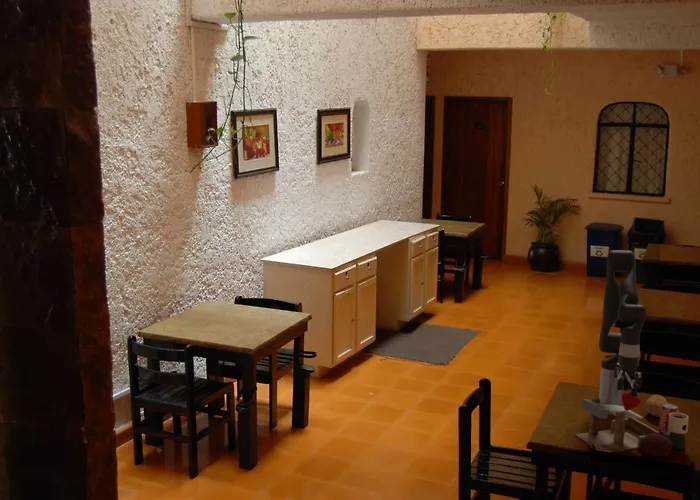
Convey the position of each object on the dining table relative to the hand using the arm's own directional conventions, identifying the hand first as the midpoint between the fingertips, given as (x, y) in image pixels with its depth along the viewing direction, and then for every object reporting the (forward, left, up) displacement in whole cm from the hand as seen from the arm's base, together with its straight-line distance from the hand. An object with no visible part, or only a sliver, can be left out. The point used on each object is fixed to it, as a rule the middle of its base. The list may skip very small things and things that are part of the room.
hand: (626, 393), depth 301 cm
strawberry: (0, 0, -7) cm, 7 cm away
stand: (+4, 0, -20) cm, 20 cm away
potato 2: (-2, +16, -20) cm, 26 cm away
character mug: (-15, +12, -20) cm, 28 cm away
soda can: (-21, 0, -20) cm, 29 cm away
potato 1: (-30, -18, -20) cm, 41 cm away
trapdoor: (+7, 0, -8) cm, 11 cm away
